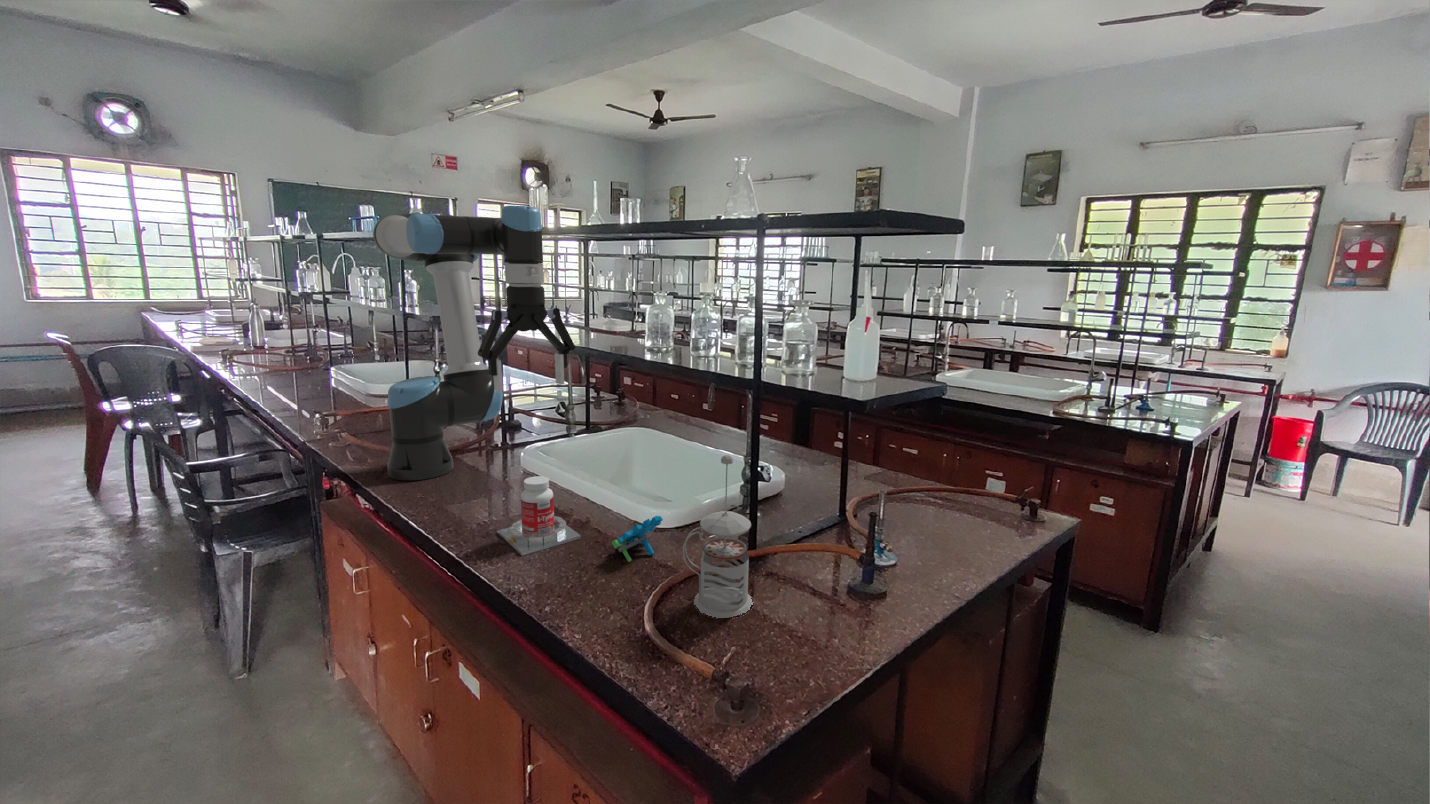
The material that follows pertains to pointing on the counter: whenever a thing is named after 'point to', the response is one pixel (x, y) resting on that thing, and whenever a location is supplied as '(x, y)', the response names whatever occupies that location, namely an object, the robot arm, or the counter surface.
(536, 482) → the pill bottle
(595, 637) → the counter surface
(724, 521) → the french press
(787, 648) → the counter surface
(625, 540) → the blue knobbed piece
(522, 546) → the duct flange
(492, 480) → the counter surface
